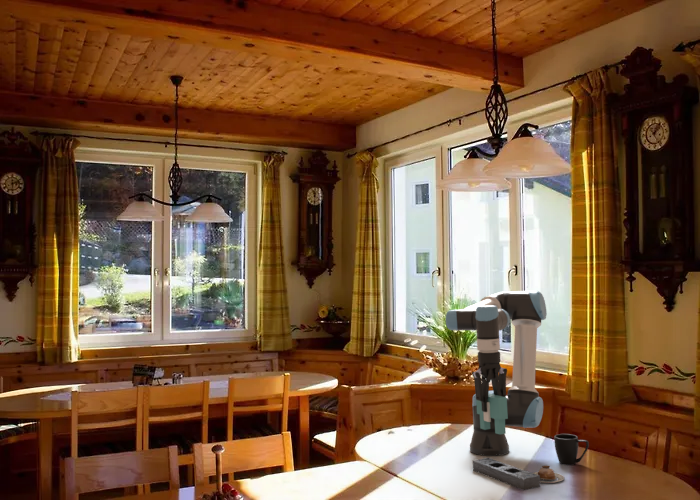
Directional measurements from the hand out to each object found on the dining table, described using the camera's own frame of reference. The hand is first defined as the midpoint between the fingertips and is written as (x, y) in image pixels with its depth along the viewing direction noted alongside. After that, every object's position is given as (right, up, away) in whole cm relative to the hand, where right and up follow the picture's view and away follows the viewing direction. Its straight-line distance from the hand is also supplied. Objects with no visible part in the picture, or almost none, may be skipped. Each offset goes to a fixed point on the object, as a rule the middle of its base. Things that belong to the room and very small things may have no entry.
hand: (492, 420), depth 220 cm
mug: (+32, -20, +15) cm, 41 cm away
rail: (+5, -20, +1) cm, 20 cm away
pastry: (+18, -20, -1) cm, 27 cm away
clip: (0, -4, 0) cm, 4 cm away
